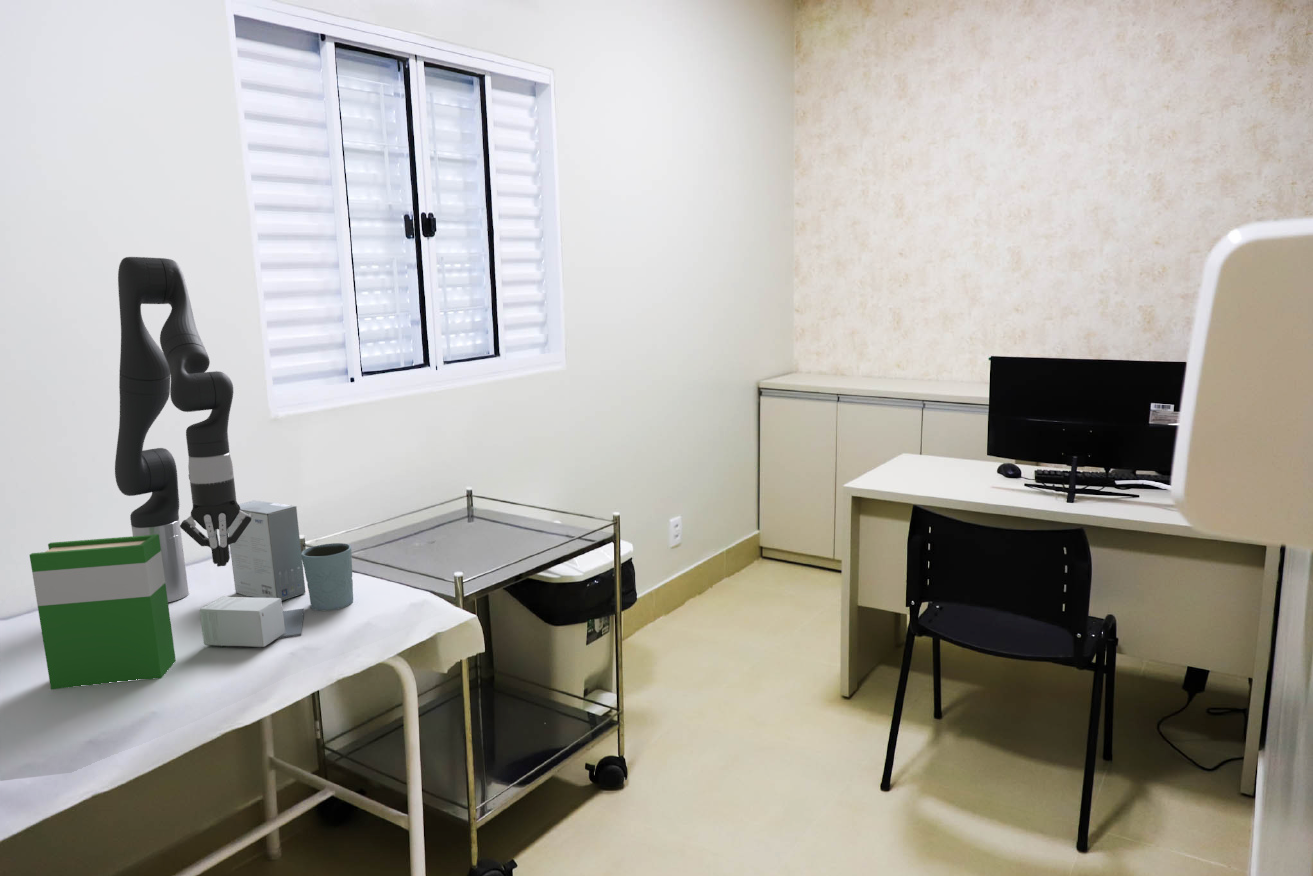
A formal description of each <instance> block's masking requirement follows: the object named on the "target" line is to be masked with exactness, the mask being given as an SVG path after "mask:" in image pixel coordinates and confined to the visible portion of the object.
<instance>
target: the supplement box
mask: <svg viewBox="0 0 1313 876" xmlns="http://www.w3.org/2000/svg"><path fill="white" fill-rule="evenodd" d="M283 611H284V610H283V603H282V601H281V598H255V597H251V596H246V597H245V596H244V597H242V596H241V597H240V596H223V597H220V598H218V599H217V600H214V601H212V602H211V603H209V604H207V605H205V606H203V607H202V608H200V610H199V615H200V624H201V632H202V639H203V644H204V646H221V647H222V646H226V647H253V648H254V647H255V648H256V647H257V648H258V647H259V648H261V647H262V648H264V647H266V646H268V645H269V644H271V643H272V642H273V641H275V640H278V639H277V638H278V637H280V636H281V635H283V634H284V633H285V626H284V617H283Z"/></svg>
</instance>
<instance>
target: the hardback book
mask: <svg viewBox="0 0 1313 876" xmlns="http://www.w3.org/2000/svg"><path fill="white" fill-rule="evenodd" d="M47 546H48V550H46V551H44V552H43V551H42V552H32V553H30V554H29V560H30V567H31V573H32V579H33V586H34V593H35V597H36V604H37V610H38V611H37V612H38V618H39V624H40V628H41V629H40V630H41V635H42V642H43V649H44V654H45V659H46V668H47V674H48V681H49V686H50V689H51V690H57V689H67V688H68V687H69V688H74V687H73V686H79V687H82V686H81V685H89V686H94V685H93V684H99V685H102V684H101V683H109V682H117V681H128V680H136V679H137V680H138V679H149V680H154V679H153V678H158V679H162V678H164V676H165V675H164V674H166V673H167V672H168V671H169V670H170V669H171V668H172V666H173V665H174V664H175V663H176V662H175V661H177V660H176V651H175V646H174V645H175V643H174V638H173V630H172V622H171V621H172V620H171V615H170V608H169V607H170V606H169V602H168V599H167V592H166V584H165V577H164V569H163V562H162V554H161V547H160V539H159V534H157V535H144V536H133V535H132V536H120V537H119V536H118V537H109V538H108V537H107V538H95V539H94V538H92V539H83V540H70V541H69V540H68V541H55V542H53V541H52V542H49V543H48V544H47ZM174 662H175V663H174ZM173 663H174V664H173ZM169 668H170V669H169ZM167 670H168V671H167ZM109 684H110V683H109Z"/></svg>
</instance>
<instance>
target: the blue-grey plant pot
mask: <svg viewBox="0 0 1313 876" xmlns="http://www.w3.org/2000/svg"><path fill="white" fill-rule="evenodd" d="M352 555H353V554H352V545H351V544H349V543H340V542H338V543H334V542H333V543H325V544H319V545H314V546H310V547H308V548H305V549H304V550H301V556H302V563H303V571H304V575H305V580H306V583H307V589H308V590H307V591H308V595H309V602H310V606H311V609H312V610H316V611H321V610H325V611H327V610H328V611H334V610H339V609H338V608H340V609H343V608H346V607H349V606H350V605H351V604H353V602H354V587H353V586H354V585H353V584H354V582H353V563H352V562H353V560H352V559H353V558H352ZM349 604H350V605H349Z"/></svg>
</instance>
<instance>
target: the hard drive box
mask: <svg viewBox="0 0 1313 876" xmlns="http://www.w3.org/2000/svg"><path fill="white" fill-rule="evenodd" d="M238 505H239V506H240V510H241V511H243V512H245V513H246V514H252V519H251V521H250V523H249V524H248V526H247V527H246V529H245V530H244V531H243V533H242V534H241V536H240V537H239V538H238V540H237V541H236V542H235V543H232V544H230V545H229V551H230V558H231V565H232V566H231V567H232V572H233V573H232V574H233V581H234V590H235V593H236V594H239V595H244V596H246V595H247V596H246V597H252V598H281V601H283V602H284V601H286V600H288V599H292V598H295V597H297V596H300V595H303V594H305V593H306V592H307V591H306V582H305V576H304V575H305V572H304V566H303V561H302V556H301V553H302V548H301V547H302V546H301V537H300V528H299V521H298V510H297V505H292V504H291V505H289V504H284V503H283V504H282V503H277V502H268V501H261V500H251V501H247V502H242V503H238ZM238 519H239V517H238V515H237V517H236V518H235V520H234V521H233V523H232V524H231V526H230V527H229V528H228V537H229V536H231V535H232V534H233V533H234V531H235V530H236V529H237V527H238V526H239V524H240V523H239V522H238Z"/></svg>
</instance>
